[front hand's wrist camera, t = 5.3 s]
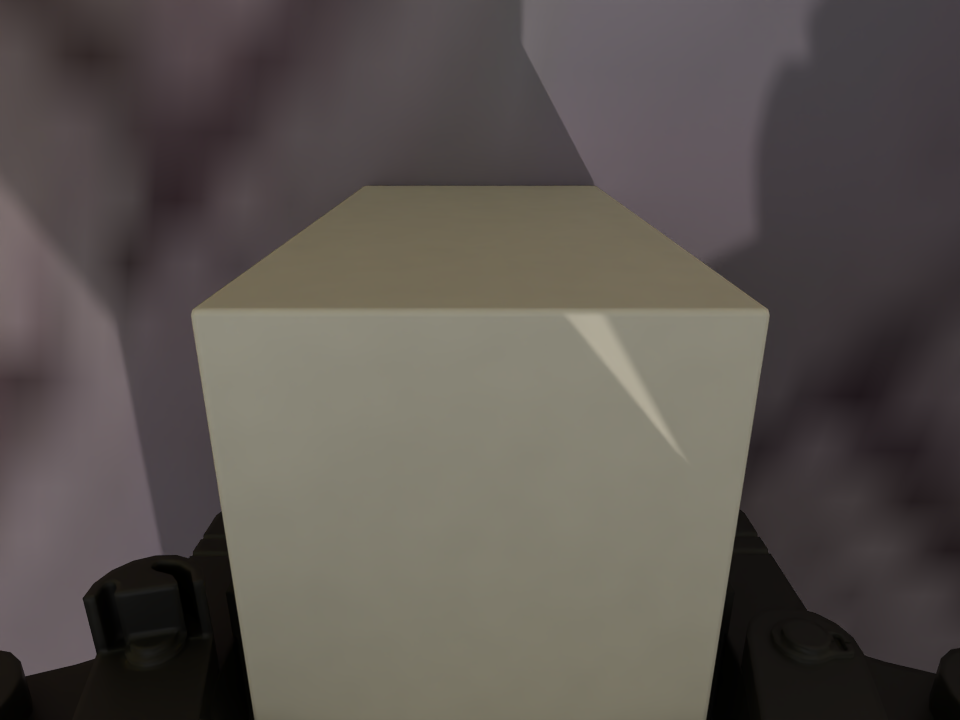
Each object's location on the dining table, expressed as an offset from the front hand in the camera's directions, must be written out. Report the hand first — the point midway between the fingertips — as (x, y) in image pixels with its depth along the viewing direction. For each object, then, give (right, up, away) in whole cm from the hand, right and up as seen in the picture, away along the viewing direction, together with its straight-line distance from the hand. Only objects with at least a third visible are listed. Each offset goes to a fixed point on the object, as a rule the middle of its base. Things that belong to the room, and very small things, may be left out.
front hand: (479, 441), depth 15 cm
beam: (0, -18, +8) cm, 20 cm away
